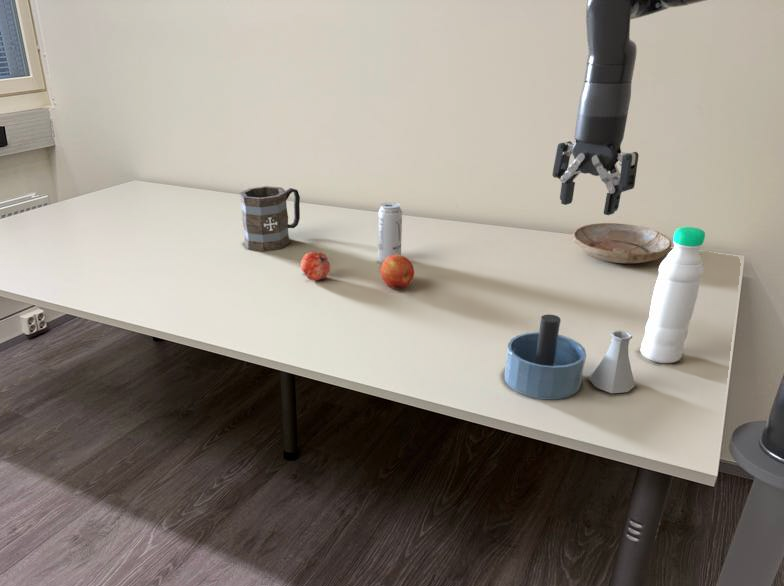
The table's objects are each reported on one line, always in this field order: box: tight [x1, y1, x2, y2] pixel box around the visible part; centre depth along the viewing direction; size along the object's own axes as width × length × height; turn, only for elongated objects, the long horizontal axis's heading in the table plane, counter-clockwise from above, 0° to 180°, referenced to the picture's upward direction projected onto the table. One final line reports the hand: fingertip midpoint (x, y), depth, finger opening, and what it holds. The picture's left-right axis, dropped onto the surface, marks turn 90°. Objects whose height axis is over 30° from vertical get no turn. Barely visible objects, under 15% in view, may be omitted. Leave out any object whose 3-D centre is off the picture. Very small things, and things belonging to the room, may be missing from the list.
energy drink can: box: [377, 202, 403, 263], centre depth 175 cm, size 6×6×15 cm
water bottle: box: [640, 226, 706, 364], centre depth 122 cm, size 7×7×25 cm
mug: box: [239, 185, 301, 252], centre depth 194 cm, size 20×14×15 cm
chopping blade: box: [535, 313, 561, 366], centre depth 119 cm, size 8×8×12 cm
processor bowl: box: [503, 331, 587, 400], centre depth 120 cm, size 13×13×6 cm
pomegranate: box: [300, 250, 331, 281], centre depth 168 cm, size 7×7×10 cm
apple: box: [379, 254, 415, 290], centre depth 161 cm, size 8×8×8 cm
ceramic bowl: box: [572, 222, 672, 264], centre depth 173 cm, size 23×24×5 cm
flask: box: [588, 330, 636, 394], centre depth 117 cm, size 7×7×10 cm
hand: (587, 208), depth 116 cm, fingers open, 8 cm apart
